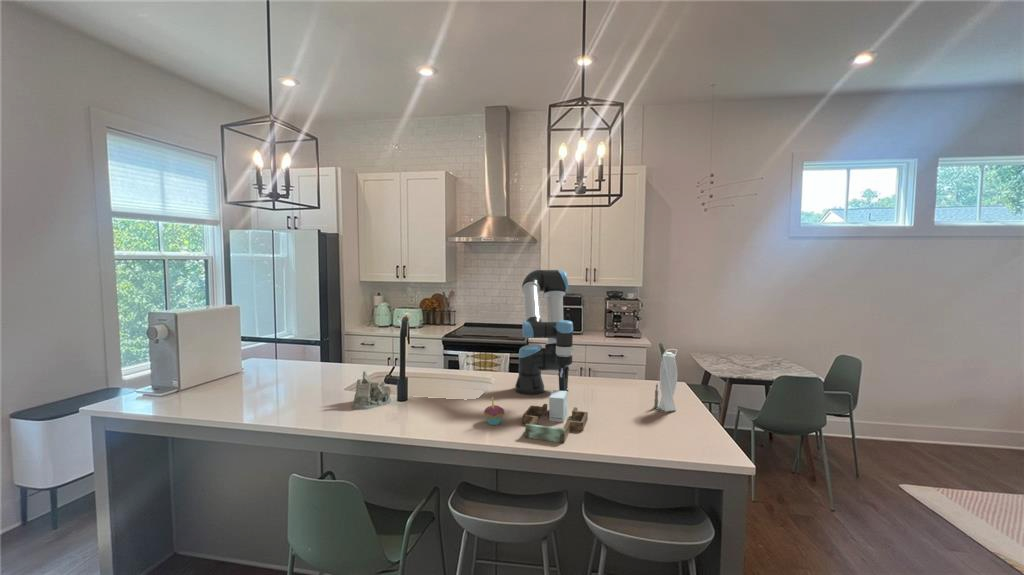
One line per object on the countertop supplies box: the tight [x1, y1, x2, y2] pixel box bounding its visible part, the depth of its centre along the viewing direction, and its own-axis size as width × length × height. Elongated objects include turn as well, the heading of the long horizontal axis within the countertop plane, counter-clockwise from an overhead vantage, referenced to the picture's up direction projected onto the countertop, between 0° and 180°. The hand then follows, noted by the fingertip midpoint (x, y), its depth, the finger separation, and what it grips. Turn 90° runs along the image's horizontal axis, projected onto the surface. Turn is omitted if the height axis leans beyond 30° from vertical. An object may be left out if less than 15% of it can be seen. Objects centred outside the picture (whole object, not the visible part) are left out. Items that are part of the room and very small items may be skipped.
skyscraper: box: [653, 348, 679, 413], centre depth 196 cm, size 8×8×28 cm
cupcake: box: [483, 396, 505, 426], centre depth 179 cm, size 9×8×12 cm
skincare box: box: [548, 389, 568, 423], centre depth 186 cm, size 10×6×10 cm, turn 164°
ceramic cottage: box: [351, 371, 392, 411], centre depth 201 cm, size 16×16×15 cm
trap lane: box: [522, 403, 589, 444], centre depth 177 cm, size 25×30×5 cm
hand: (563, 405), depth 196 cm, fingers closed
